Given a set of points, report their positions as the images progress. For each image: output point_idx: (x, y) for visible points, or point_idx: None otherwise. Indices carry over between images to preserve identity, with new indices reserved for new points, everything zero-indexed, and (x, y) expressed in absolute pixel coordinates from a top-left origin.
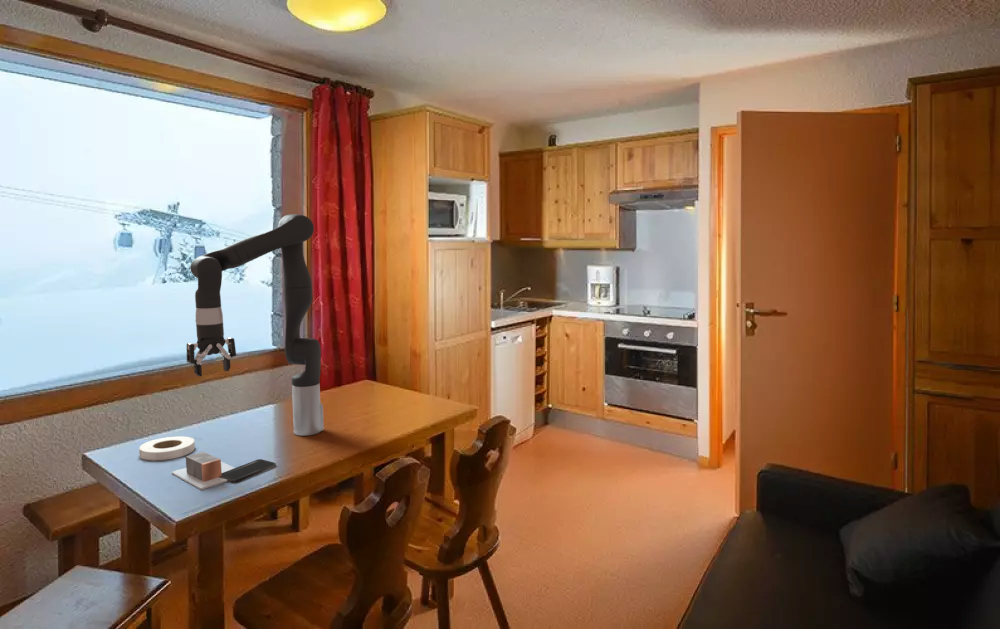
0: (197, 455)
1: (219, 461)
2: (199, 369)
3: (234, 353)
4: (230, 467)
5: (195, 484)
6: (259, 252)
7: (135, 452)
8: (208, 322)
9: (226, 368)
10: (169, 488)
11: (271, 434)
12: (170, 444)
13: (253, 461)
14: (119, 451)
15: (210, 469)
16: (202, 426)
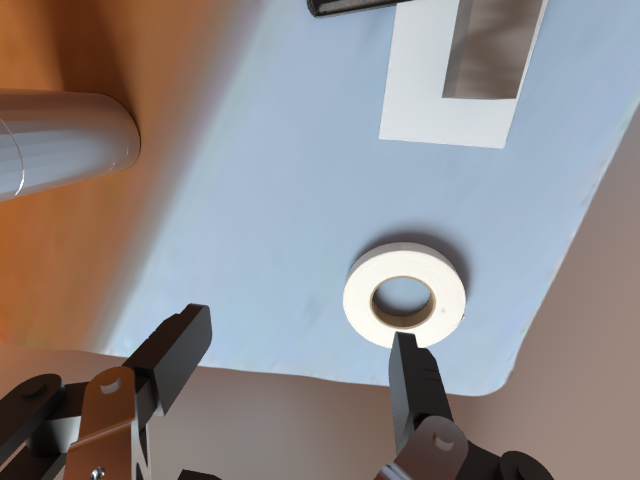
0: (490, 73)
1: None
2: (422, 372)
3: (18, 401)
4: (400, 29)
5: None
6: None
7: (441, 340)
8: None
9: (197, 320)
10: (593, 35)
11: (185, 197)
12: (381, 314)
13: (332, 11)
14: (453, 368)
15: None
16: (267, 362)
